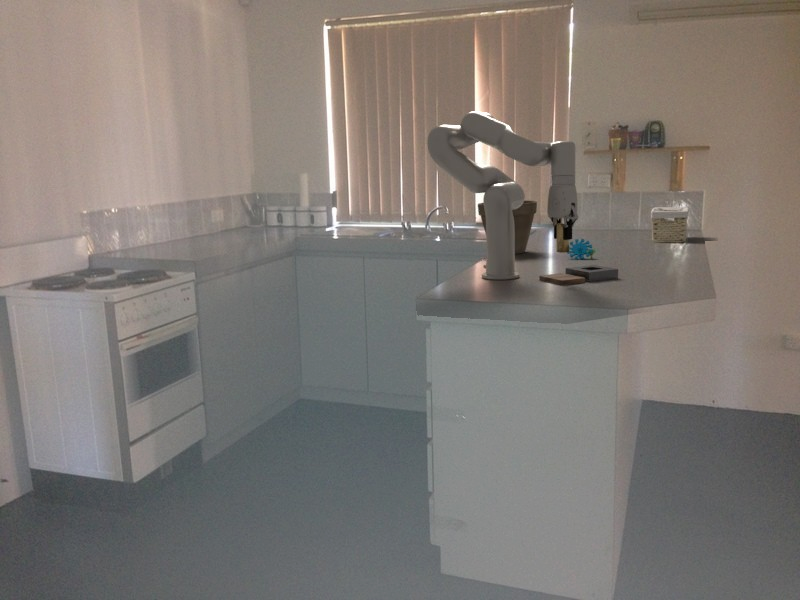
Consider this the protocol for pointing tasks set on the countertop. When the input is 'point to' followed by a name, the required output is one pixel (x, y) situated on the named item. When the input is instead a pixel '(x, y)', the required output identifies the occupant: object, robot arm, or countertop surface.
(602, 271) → the grey square frame
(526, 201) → the plant pot
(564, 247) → the key peg
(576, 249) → the gear
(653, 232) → the storage basket
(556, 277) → the board
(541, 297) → the countertop surface
